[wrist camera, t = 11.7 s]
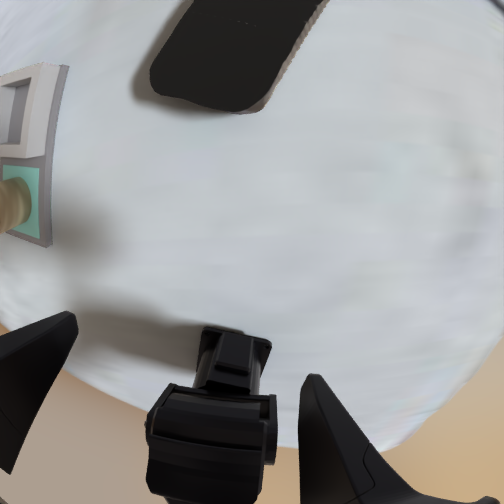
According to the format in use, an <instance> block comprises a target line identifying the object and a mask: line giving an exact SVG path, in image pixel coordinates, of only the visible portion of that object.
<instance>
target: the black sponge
mask: <svg viewBox="0 0 504 504" xmlns="http://www.w3.org/2000/svg"><path fill="white" fill-rule="evenodd" d="M329 1H330V0H194V2H193V3H192V5H191V6H190V7H189V9H188V10H187V12H186V13H185V14H184V16H183V17H182V19H181V20H180V22H179V23H178V25H177V26H176V28H175V29H174V31H173V33H172V34H171V36H170V37H169V39H168V40H167V42H166V43H165V45H164V46H163V48H162V49H161V51H160V53H159V54H158V55H157V57H156V58H155V60H154V61H153V63H152V66H151V68H150V82H151V86H152V88H153V89H154V91H155V92H156V93H158V94H160V95H164V96H170V97H176V98H182V99H185V100H188V101H190V102H193V103H196V104H198V105H201V106H204V107H208V108H212V109H217V110H223V111H226V112H229V113H233V114H251V113H256V112H258V111H260V110H262V109H263V108H264V107H265V106H266V104H267V102H268V101H269V99H270V98H271V96H272V94H273V92H274V90H275V88H276V87H277V85H278V83H279V82H280V80H281V79H282V77H283V75H284V73H285V72H286V70H287V68H288V67H289V65H290V64H291V62H292V59H293V58H294V57H295V55H296V52H297V51H298V50H299V49H300V45H301V44H303V42H304V39H305V37H307V36H308V32H309V31H310V30H311V28H312V27H313V25H314V24H315V23H316V20H317V19H318V18H319V16H320V14H321V13H322V12H323V9H324V8H325V7H326V5H327V3H328V2H329Z"/></svg>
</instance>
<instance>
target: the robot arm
mask: <svg viewBox="0 0 504 504" xmlns="http://www.w3.org/2000/svg"><path fill="white" fill-rule="evenodd" d="M206 332H209V333H206ZM77 335H78V325H77V320H76V316H75V314H73V313H71V312H69V311H64V312H61V313H58V314H56V315H53V316H50V317H48V318H45V319H43V320H40V321H37V322H35V323H32V324H30V325H27V326H24V327H22V328H19V329H17V330H14V331H12V332H9V333H6V334H4V335H1V336H0V468H1V469H2V470H4V471H5V472H6V473H8V474H9V475H10V474H11V472H12V470H13V467H14V465H15V462H16V460H17V457H18V455H19V452H20V450H21V447H22V445H23V443H24V440H25V438H26V436H27V434H28V431H29V429H30V427H31V425H32V423H33V421H34V419H35V417H36V415H37V413H38V411H39V409H40V407H41V405H42V403H43V401H44V399H45V397H46V395H47V393H48V391H49V390H50V388H51V386H52V384H53V382H54V380H55V379H56V377H57V375H58V374H59V372H60V370H61V368H62V367H63V365H64V363H65V361H66V359H67V357H68V354H69V352H70V350H71V348H72V346H73V344H74V342H75V340H76V338H77ZM265 345H268V346H265ZM271 348H272V343H271V342H270V341H268V340H263V339H258V338H253V337H249V336H244V335H239V334H235V333H231V332H226V331H222V330H218V329H214V328H210V327H205V328H203V331H202V335H201V341H200V348H199V355H198V362H197V369H196V372H197V374H196V377H195V380H194V383H193V387H192V388H190V387H184V386H178V385H177V384H173V383H170V384H169V385H168V386H167V388H166V389H165V390H164V392H163V393H162V394H161V396H160V397H159V399H158V400H157V401H156V403H155V404H154V406H153V407H152V408H151V410H150V411H149V413H148V414H147V420H146V421H145V424H144V426H145V428H146V441H147V444H148V446H149V459H148V466H147V473H146V482H147V485H148V487H149V489H150V492H151V493H153V494H156V495H160V496H163V497H164V498H165V500H166V501H167V503H168V504H254V502H255V501H256V500H257V496H258V495H259V494H260V492H261V489H262V480H263V470H264V465H274V463H275V458H276V450H277V436H278V421H277V400H276V395H274V394H269V395H259V386H260V377H261V375H262V372H263V370H264V367H265V364H266V362H267V359H268V356H269V354H270V351H271ZM369 442H370V441H369V440H368V438H367V437H366V436H365V434H364V433H363V432H362V430H361V429H360V428H359V426H358V425H357V424H356V422H355V421H354V420H353V418H352V417H351V416H350V414H349V413H348V412H347V410H346V409H345V408H344V406H343V405H342V403H341V402H340V401H339V399H338V398H337V397H336V395H335V394H334V393H333V391H332V390H331V388H330V387H329V386H328V384H327V383H326V382H325V380H324V379H323V378H322V376H321V375H319V374H312V373H311V374H309V375H308V376H307V378H306V380H305V382H304V383H303V385H302V387H301V391H300V404H299V418H298V445H299V470H300V504H500V502H499V501H498V500H497V499H495V498H493V497H489V496H485V497H483V498H481V499H480V500H478V501H476V502H472V503H463V502H457V501H451V500H446V499H441V498H436V497H432V496H428V495H424V494H421V493H419V492H417V491H416V490H414V489H413V488H411V486H409V484H407V483H406V482H405V481H404V480H403V479H402V478H401V477H400V476H399V475H398V474H397V473H396V472H395V471H394V470H393V468H392V467H391V466H390V465H389V464H388V463H387V462H386V461H385V460H384V459H383V457H382V456H381V455H380V454H379V453H378V451H377V450H376V449H375V447H374V446H373V445H372V444H371V443H369ZM0 504H8V503H7V502H5V501H4V500H3V499H2V498H1V497H0Z"/></svg>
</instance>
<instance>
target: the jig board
mask: <svg viewBox="0 0 504 504" xmlns="http://www.w3.org/2000/svg"><path fill="white" fill-rule="evenodd" d="M68 69H69V66H66V65H59V66H58V65H54V64H49V63H44V62H42V63H38V64H35V65H31V66H28V67H25V68H22V69H19V70H16V71H13V72H10V73H7V74H5V75H2V76H0V182H1V181H4V180H7V179H11V178H15V177H21V178H22V179H24V180H25V182H26V183H27V185H28V187H29V190H30V194H31V201H32V207H31V214H30V217H29V219H28V220H27V221H26V222H25V223H23V224H20V225H18V226H16V227H14V228H12V229H10V230H8V231H6V233H8V234H11V235H13V236H16V237H19V238H21V239H24V240H26V241H29V242H32V243H34V244H37V245H40V246H42V247H45V248H47V247H49V246H51V245H52V232H51V175H52V160H53V150H54V141H55V133H56V126H57V119H58V114H59V108H60V103H61V98H62V93H63V89H64V85H65V81H66V77H67V73H68Z"/></svg>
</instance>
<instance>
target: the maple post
mask: <svg viewBox="0 0 504 504" xmlns="http://www.w3.org/2000/svg"><path fill="white" fill-rule="evenodd" d="M31 207H32V201H31V194H30V190H29V187H28V185H27V183H26V182H25V180H24V179H22V178H21V177H15V178H11V179H7V180H4V181H1V182H0V234H2V233H4V232H6V231H8V230H10V229H12V228H14V227H16V226H18V225H20V224H23V223H25V222H26V221H27V220H28V219H29V217H30V214H31Z"/></svg>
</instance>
